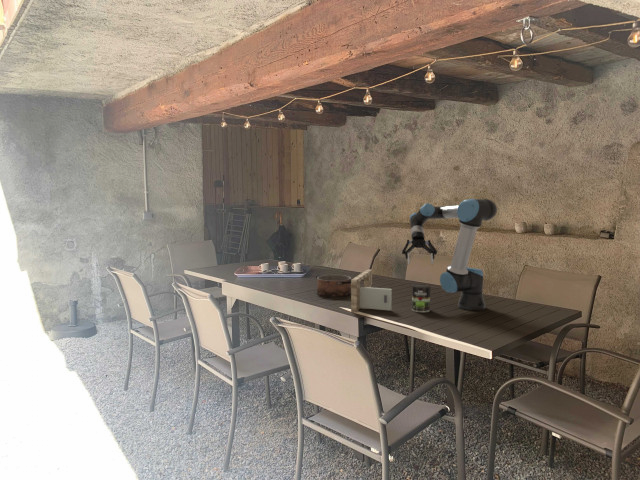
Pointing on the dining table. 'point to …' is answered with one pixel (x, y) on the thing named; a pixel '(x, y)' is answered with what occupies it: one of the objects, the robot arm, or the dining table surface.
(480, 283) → the robot arm
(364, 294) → the door
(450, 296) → the dining table surface
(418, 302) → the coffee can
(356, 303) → the door frame
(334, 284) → the cooking pot
